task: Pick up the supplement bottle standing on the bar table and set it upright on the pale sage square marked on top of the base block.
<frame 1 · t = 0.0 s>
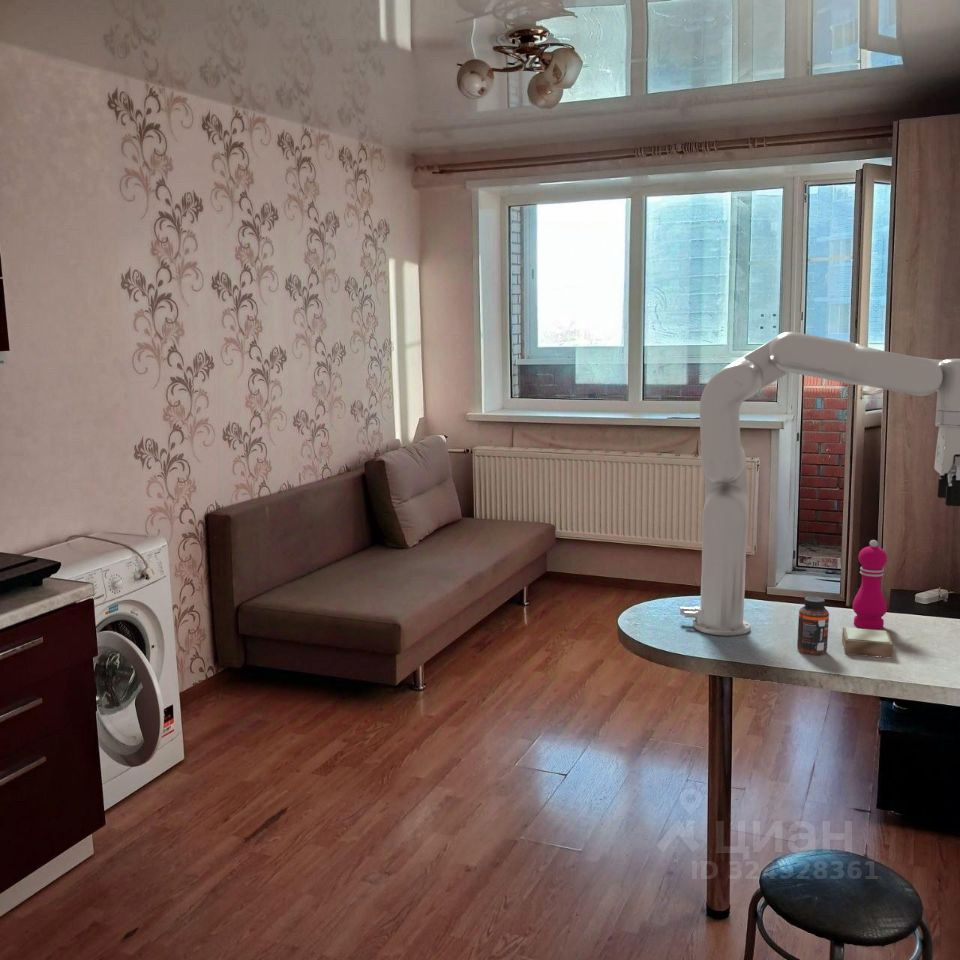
hand: (949, 501, 200), 31 cm above the table, tool pointing down, fingers open, 9 cm apart
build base: (866, 649, 203), on the table
pepper mill: (868, 626, 219), on the table
supplement bottle: (811, 652, 202), on the table
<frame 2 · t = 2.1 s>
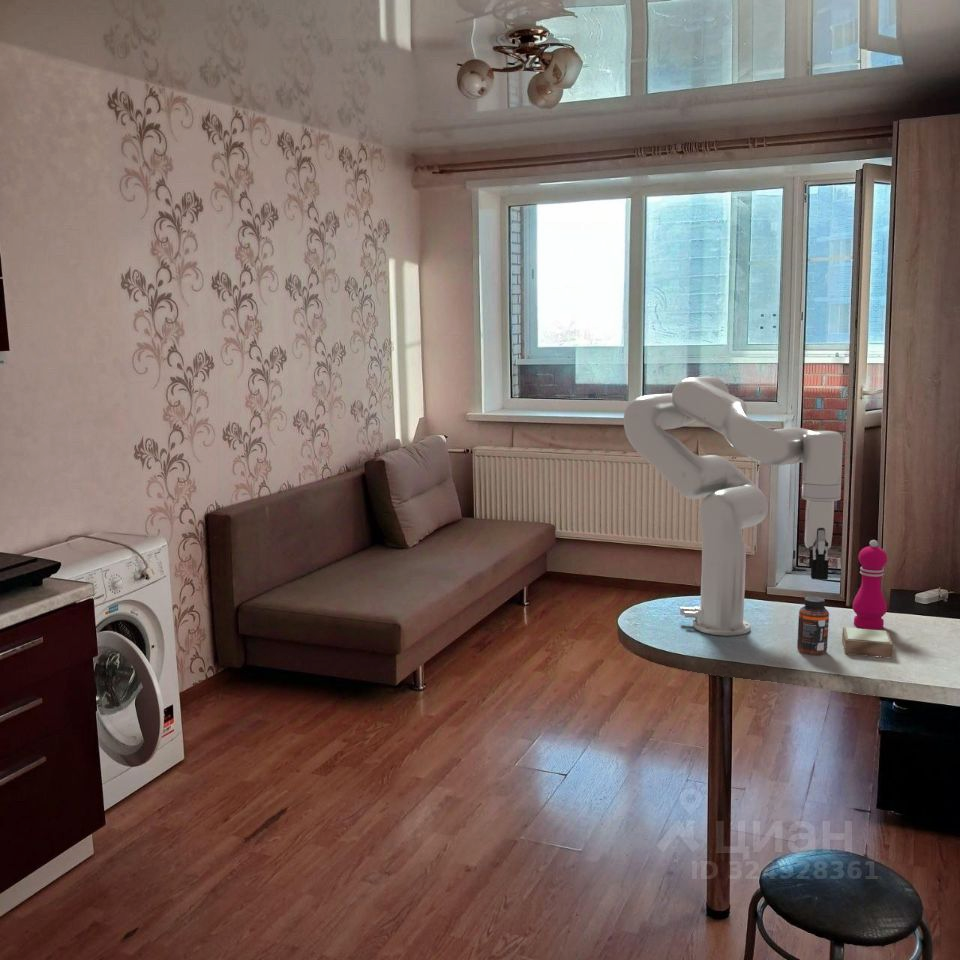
hand: (818, 573, 199), 17 cm above the table, tool pointing down, fingers open, 9 cm apart
nothing on the table moved.
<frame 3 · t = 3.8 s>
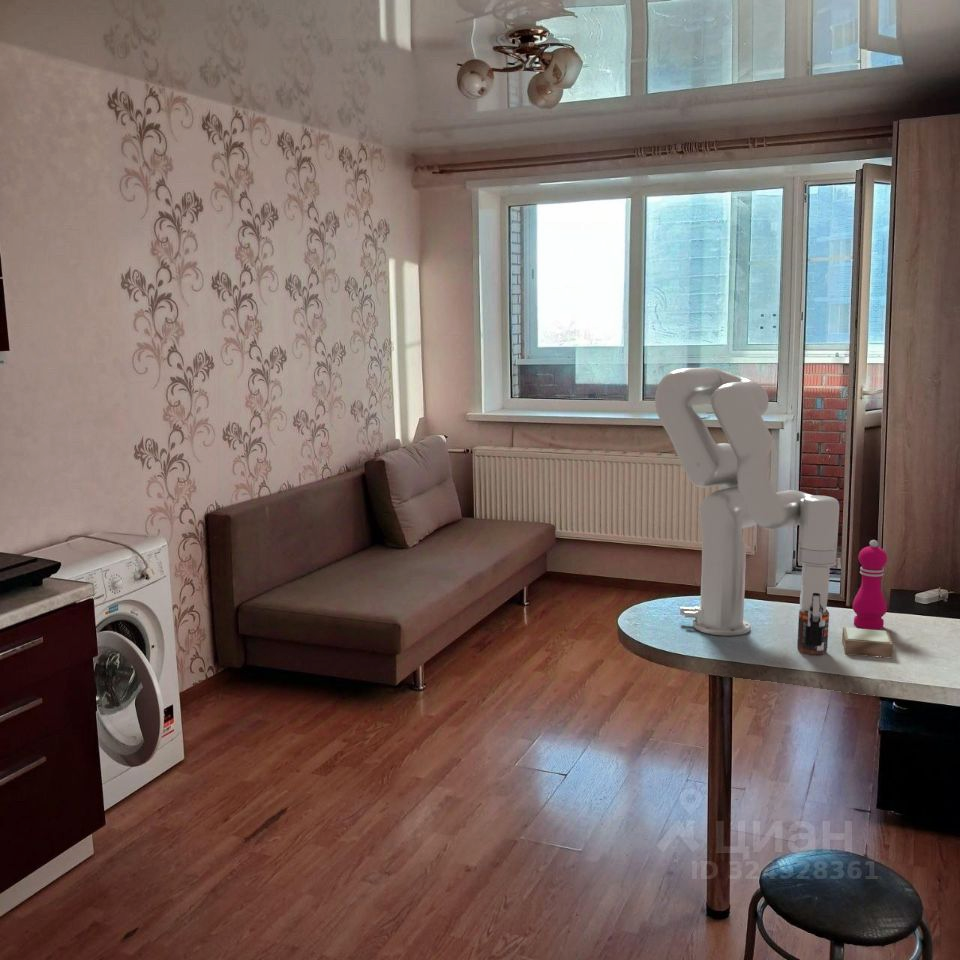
hand: (812, 639, 202), 3 cm above the table, tool pointing down, fingers closed on supplement bottle, 6 cm apart
supplement bottle: (811, 652, 202), on the table, touching gripper
everything else where it was.
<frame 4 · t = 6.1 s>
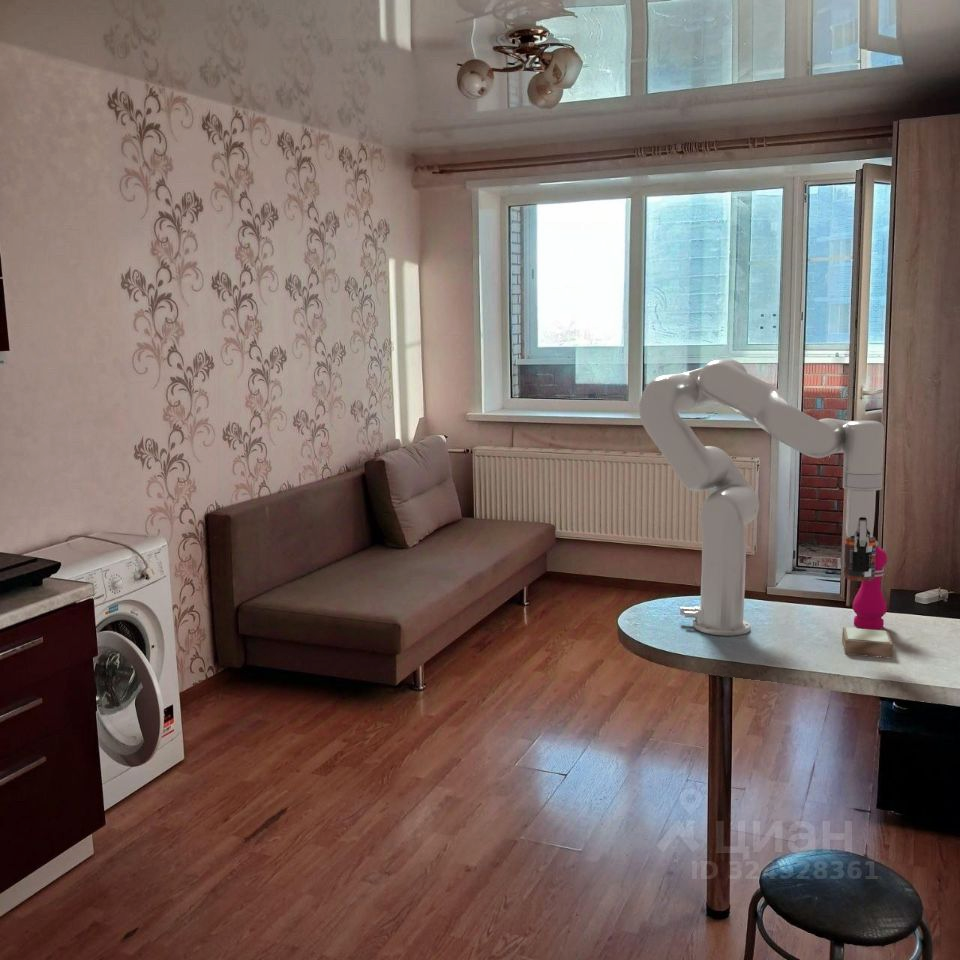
hand: (859, 566, 200), 18 cm above the table, tool pointing down, fingers closed on supplement bottle, 6 cm apart
supplement bottle: (859, 579, 200), point 15 cm above the table, touching gripper
everything else where it was.
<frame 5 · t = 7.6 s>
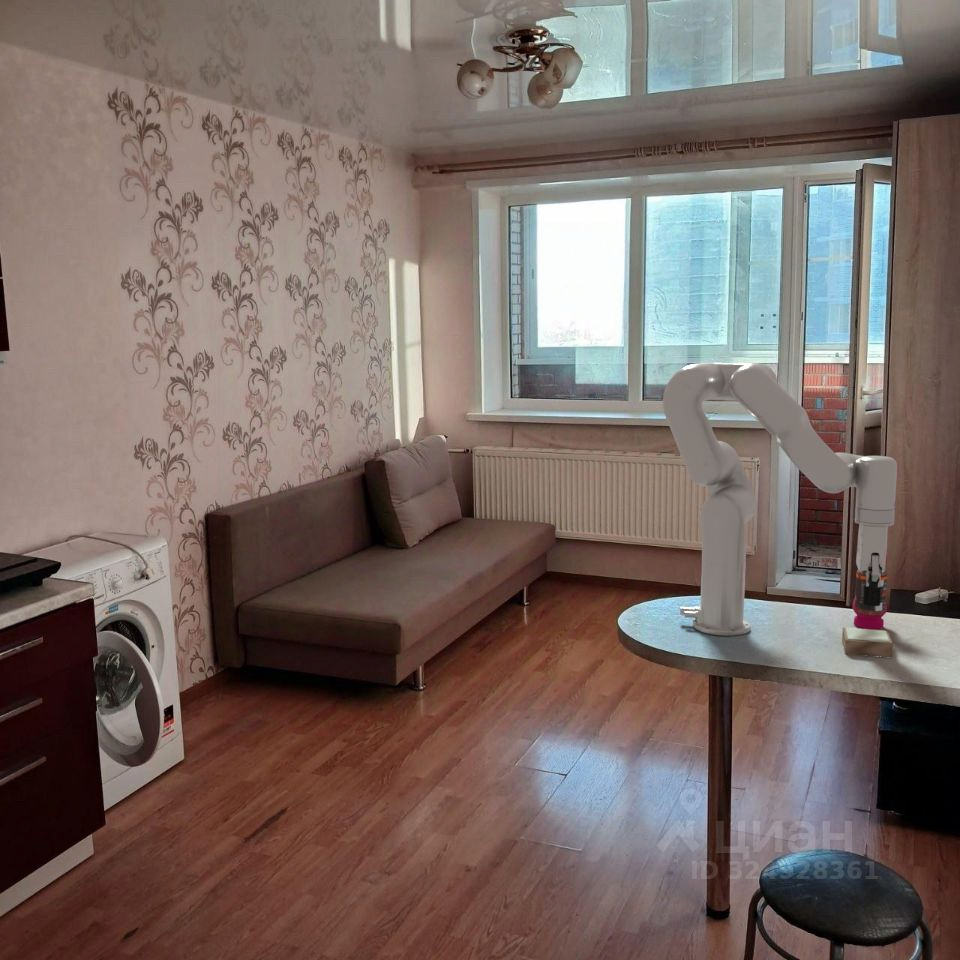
hand: (870, 600, 202), 11 cm above the table, tool pointing down, fingers closed on supplement bottle, 6 cm apart
supplement bottle: (869, 613, 202), point 8 cm above the table, touching gripper
everything else where it was.
when the fingers open (8 cm above the table, at t = 8.6 s): supplement bottle drops 2 cm, resting on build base.
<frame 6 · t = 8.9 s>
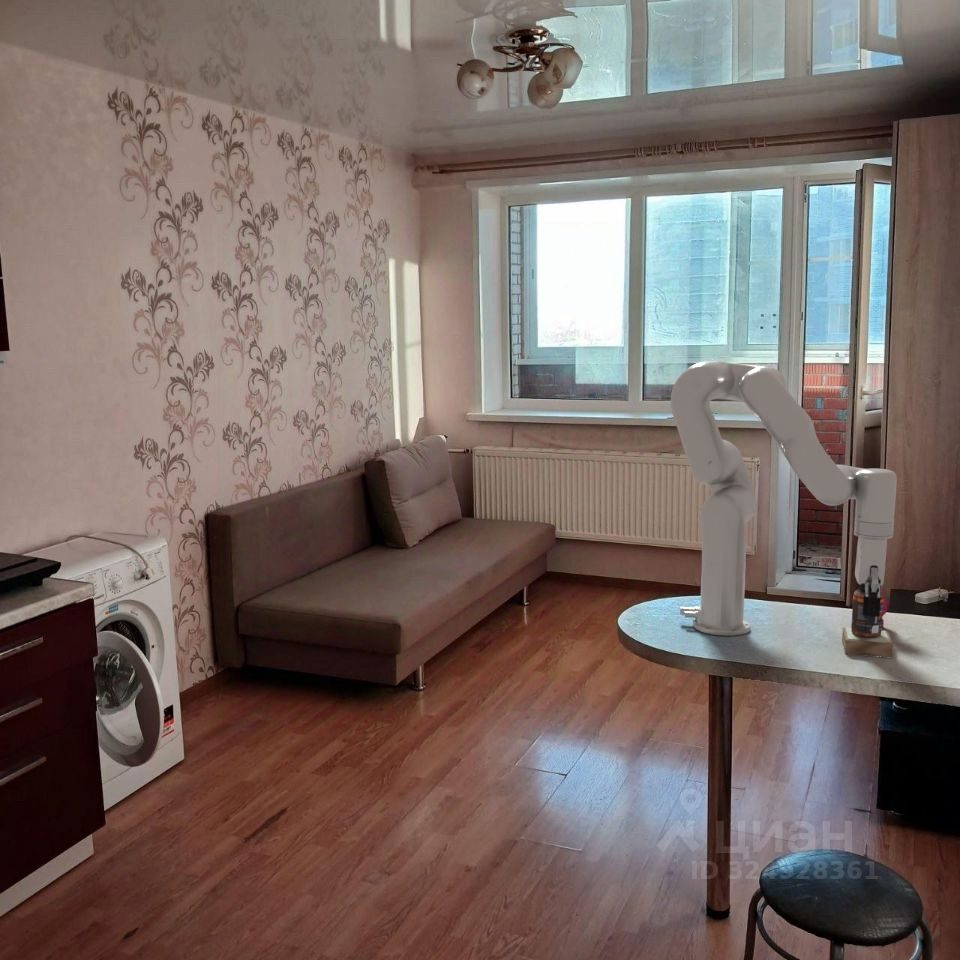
hand: (868, 609, 202), 9 cm above the table, tool pointing down, fingers open, 9 cm apart
supplement bottle: (866, 635, 203), point 3 cm above the table, touching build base
everything else where it was.
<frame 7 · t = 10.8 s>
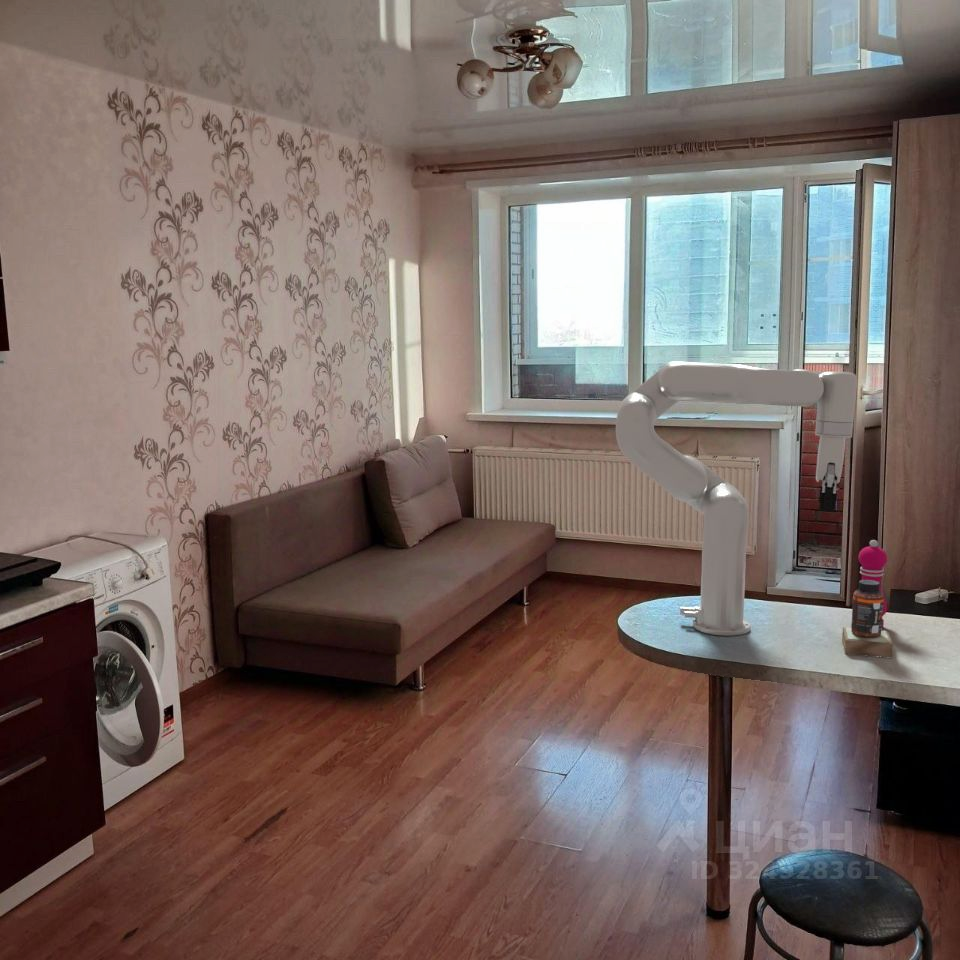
hand: (826, 507, 210), 28 cm above the table, tool pointing down, fingers open, 9 cm apart
nothing on the table moved.
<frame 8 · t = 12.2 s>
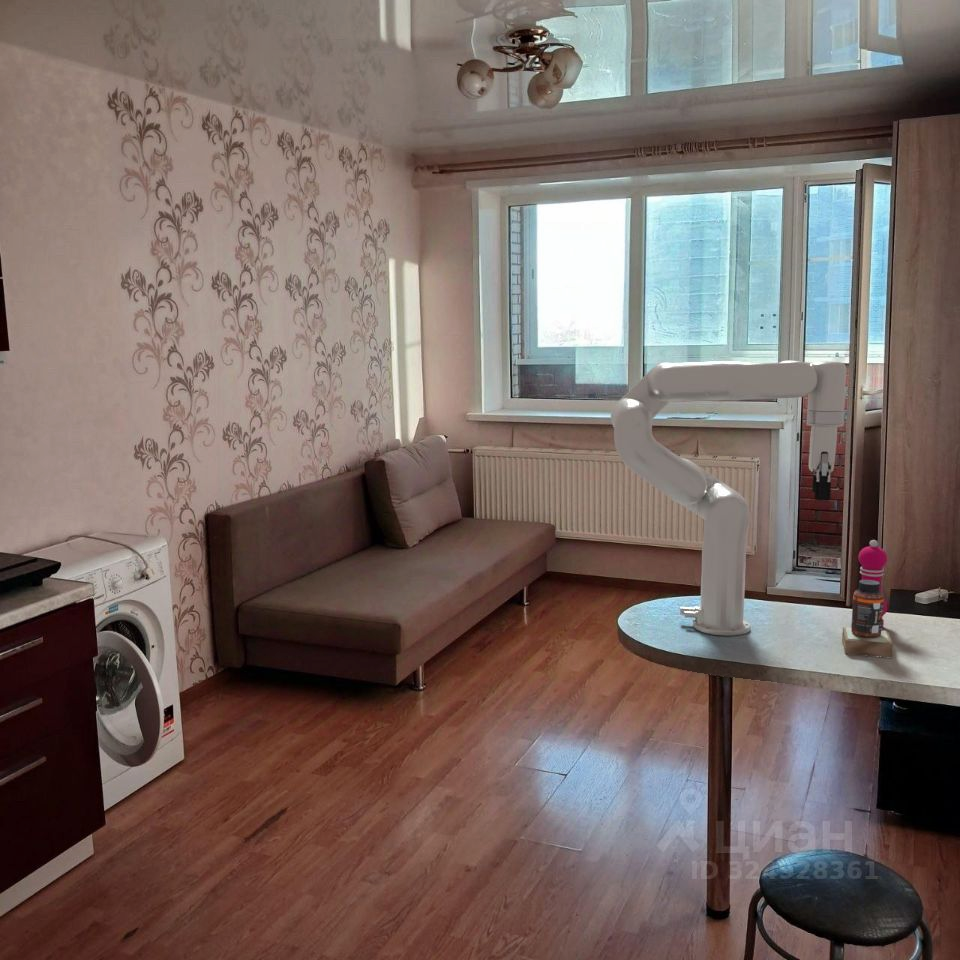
hand: (820, 496, 212), 30 cm above the table, tool pointing down, fingers open, 9 cm apart
nothing on the table moved.
at the end: supplement bottle 0.4 cm off-centre on the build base, point 3.0 cm above the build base's base; supplement bottle tilted 0°; the gripper is holding nothing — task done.
